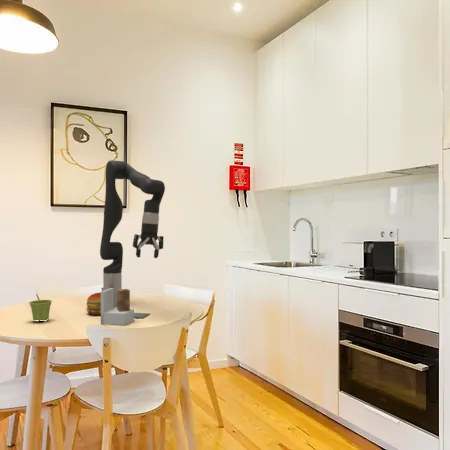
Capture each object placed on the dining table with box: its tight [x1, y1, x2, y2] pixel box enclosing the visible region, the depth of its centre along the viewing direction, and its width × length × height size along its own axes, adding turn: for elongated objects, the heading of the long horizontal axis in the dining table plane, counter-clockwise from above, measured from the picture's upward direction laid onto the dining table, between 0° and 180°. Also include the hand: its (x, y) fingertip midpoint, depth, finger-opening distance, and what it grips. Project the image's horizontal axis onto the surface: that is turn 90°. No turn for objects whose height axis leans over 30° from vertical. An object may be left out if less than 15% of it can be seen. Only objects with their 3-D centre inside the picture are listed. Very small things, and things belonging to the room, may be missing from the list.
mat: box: [134, 312, 151, 319], centre depth 208 cm, size 9×9×1 cm
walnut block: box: [117, 288, 131, 312], centre depth 197 cm, size 4×4×9 cm
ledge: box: [100, 288, 135, 326], centre depth 196 cm, size 11×10×14 cm
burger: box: [86, 292, 116, 316], centre depth 214 cm, size 13×14×10 cm
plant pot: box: [28, 299, 53, 321], centre depth 197 cm, size 9×9×9 cm
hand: (147, 257), depth 206 cm, fingers open, 8 cm apart
